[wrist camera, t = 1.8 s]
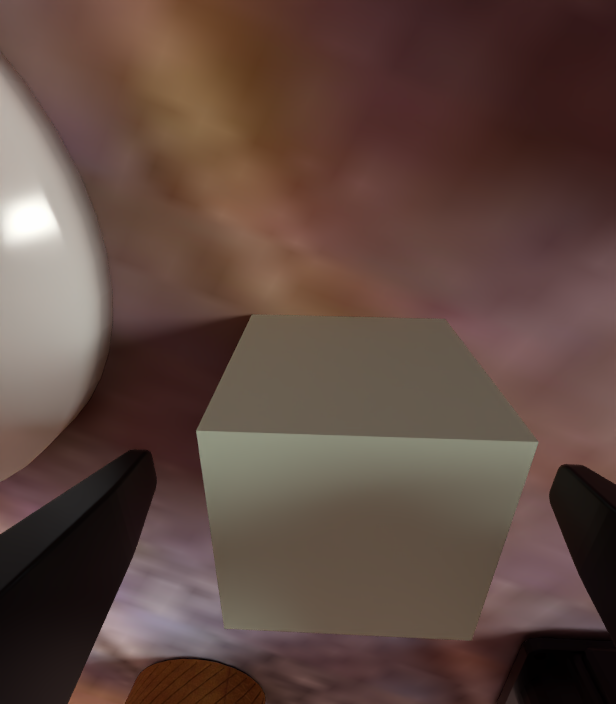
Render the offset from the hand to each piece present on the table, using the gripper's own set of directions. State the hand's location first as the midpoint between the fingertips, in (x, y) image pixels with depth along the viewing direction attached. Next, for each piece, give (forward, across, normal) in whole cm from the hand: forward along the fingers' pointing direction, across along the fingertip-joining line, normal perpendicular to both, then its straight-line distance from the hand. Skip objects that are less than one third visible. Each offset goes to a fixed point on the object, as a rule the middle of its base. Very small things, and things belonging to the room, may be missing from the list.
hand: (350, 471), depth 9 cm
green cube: (+3, 0, 0) cm, 3 cm away
